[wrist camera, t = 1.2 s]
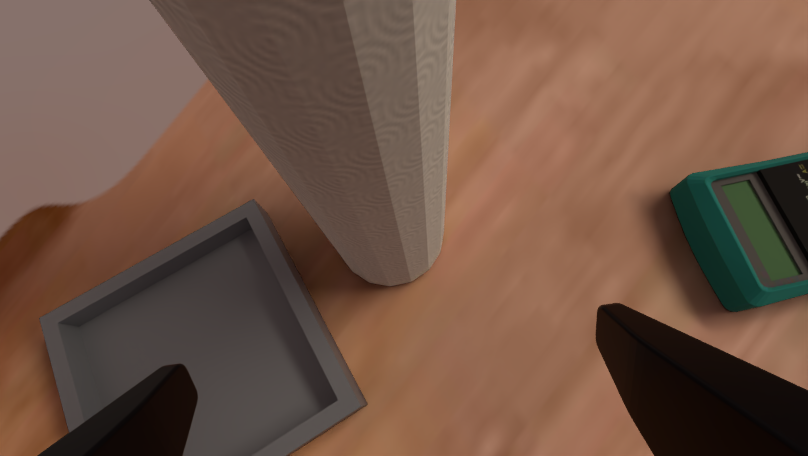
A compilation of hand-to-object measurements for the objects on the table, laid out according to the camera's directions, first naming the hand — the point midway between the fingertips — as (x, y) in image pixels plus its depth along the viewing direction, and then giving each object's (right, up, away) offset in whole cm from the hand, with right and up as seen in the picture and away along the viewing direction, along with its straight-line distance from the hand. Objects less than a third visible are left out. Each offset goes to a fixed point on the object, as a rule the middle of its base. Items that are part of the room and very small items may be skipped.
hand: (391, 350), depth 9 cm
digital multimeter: (+23, +3, +14) cm, 27 cm away
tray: (-10, -5, +13) cm, 18 cm away
